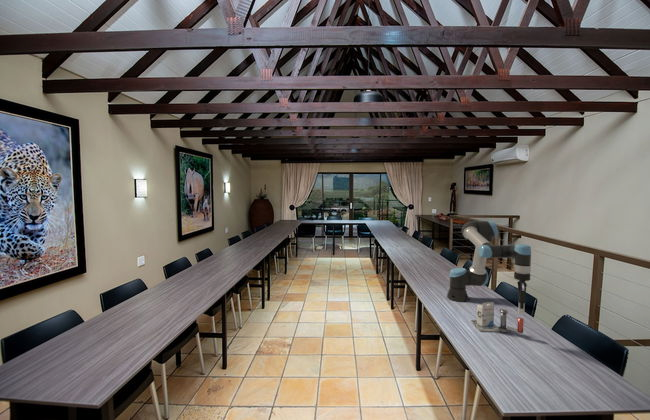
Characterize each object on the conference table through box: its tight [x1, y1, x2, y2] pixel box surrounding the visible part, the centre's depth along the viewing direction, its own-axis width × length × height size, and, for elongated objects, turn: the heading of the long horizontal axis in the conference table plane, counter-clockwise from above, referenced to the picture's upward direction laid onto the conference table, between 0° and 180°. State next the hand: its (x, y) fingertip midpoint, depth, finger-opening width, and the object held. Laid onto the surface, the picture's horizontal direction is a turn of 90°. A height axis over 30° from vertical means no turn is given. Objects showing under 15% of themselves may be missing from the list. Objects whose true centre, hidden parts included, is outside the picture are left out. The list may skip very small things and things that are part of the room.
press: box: [470, 308, 509, 334], centre depth 181 cm, size 14×16×13 cm
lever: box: [506, 317, 525, 334], centre depth 171 cm, size 3×8×8 cm, turn 38°
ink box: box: [476, 301, 495, 327], centre depth 182 cm, size 9×5×15 cm, turn 102°
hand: (521, 313), depth 166 cm, fingers closed
